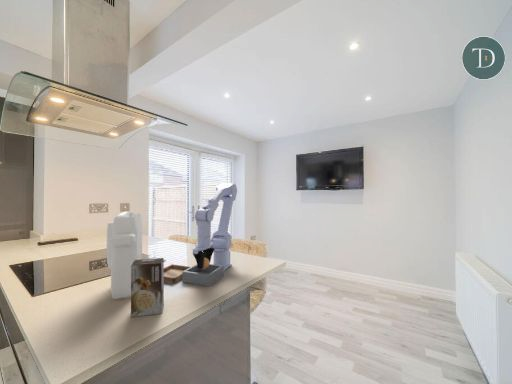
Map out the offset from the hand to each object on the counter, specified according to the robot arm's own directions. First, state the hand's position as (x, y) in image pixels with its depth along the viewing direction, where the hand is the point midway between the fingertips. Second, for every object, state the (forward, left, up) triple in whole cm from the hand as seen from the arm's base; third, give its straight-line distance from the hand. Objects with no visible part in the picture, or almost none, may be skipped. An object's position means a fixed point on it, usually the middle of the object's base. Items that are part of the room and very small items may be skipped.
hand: (203, 266), depth 101 cm
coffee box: (+30, -2, -6) cm, 31 cm away
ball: (0, 0, +1) cm, 1 cm away
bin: (0, 0, -6) cm, 6 cm away
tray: (+2, -15, -6) cm, 16 cm away
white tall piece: (+20, -24, -6) cm, 32 cm away
